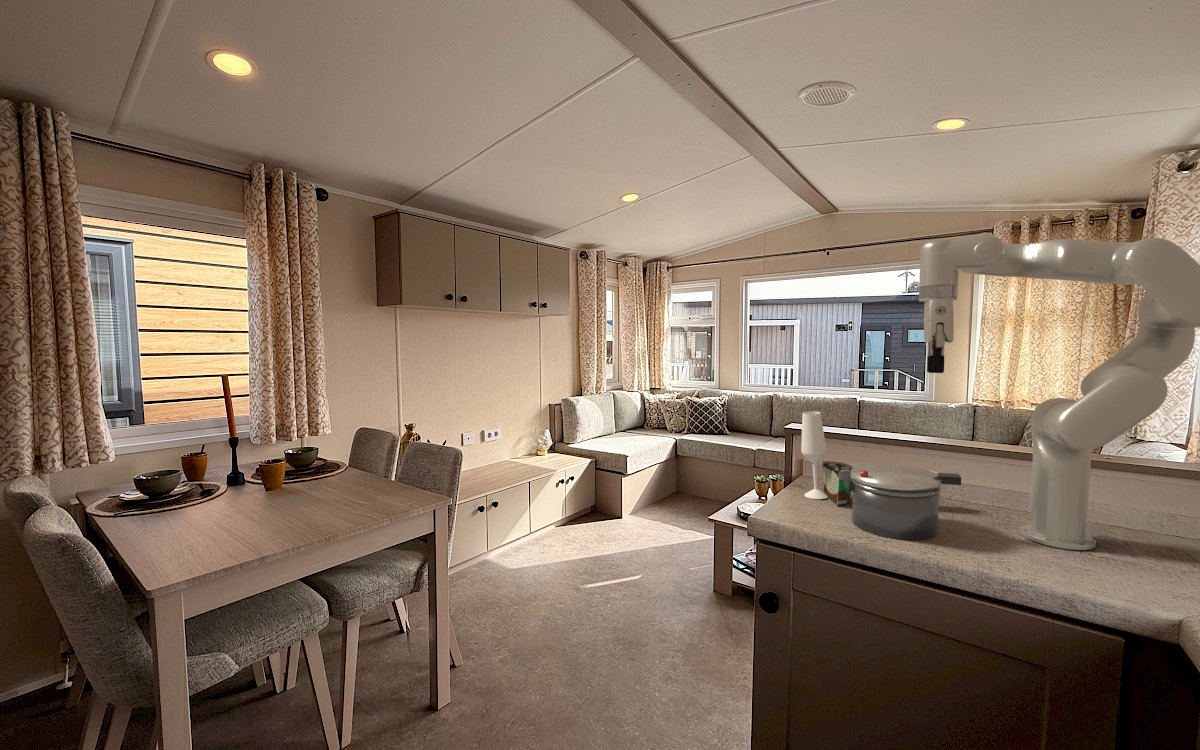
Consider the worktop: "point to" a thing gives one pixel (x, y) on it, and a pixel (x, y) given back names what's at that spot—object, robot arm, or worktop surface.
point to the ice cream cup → (837, 482)
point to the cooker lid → (902, 477)
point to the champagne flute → (813, 447)
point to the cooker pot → (895, 511)
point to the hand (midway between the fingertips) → (935, 372)
